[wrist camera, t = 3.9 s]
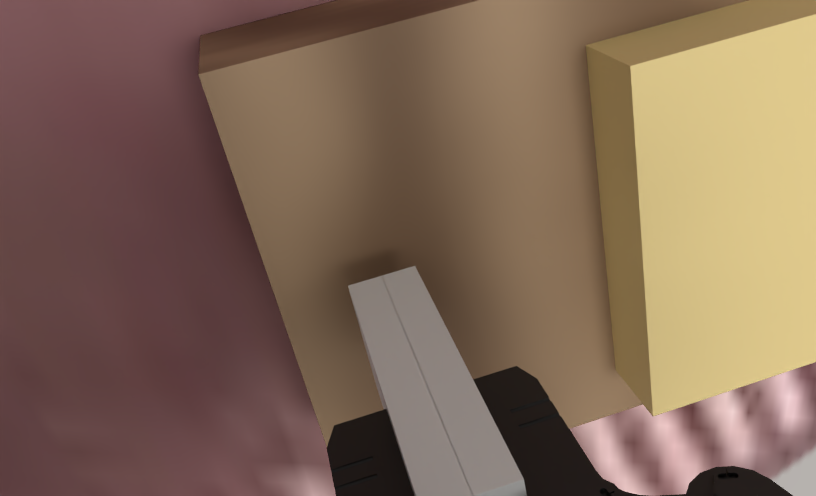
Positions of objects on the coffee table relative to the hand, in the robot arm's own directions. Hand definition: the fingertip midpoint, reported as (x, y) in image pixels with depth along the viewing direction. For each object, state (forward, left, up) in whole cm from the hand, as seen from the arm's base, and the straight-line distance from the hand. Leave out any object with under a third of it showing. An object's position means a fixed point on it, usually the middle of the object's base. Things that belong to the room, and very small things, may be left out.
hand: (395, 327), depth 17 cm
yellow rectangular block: (+9, 0, -2) cm, 9 cm away
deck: (+8, 0, -6) cm, 9 cm away
